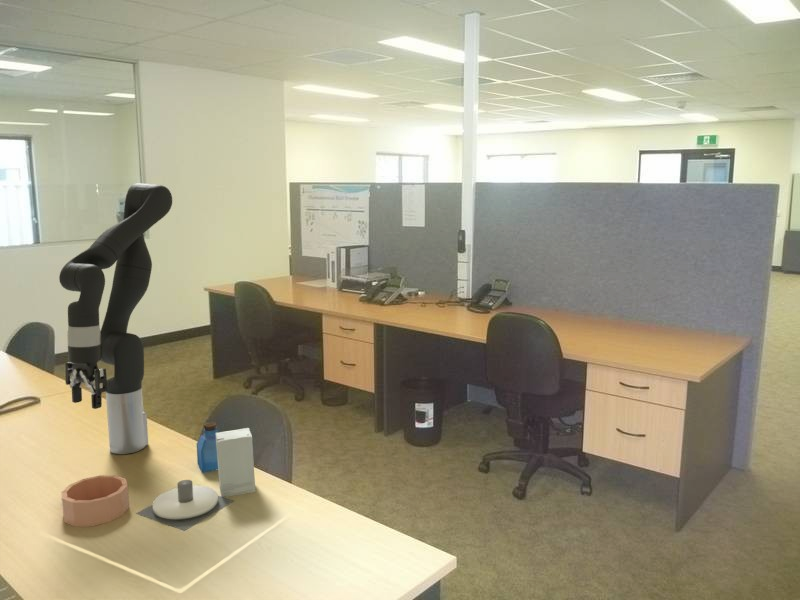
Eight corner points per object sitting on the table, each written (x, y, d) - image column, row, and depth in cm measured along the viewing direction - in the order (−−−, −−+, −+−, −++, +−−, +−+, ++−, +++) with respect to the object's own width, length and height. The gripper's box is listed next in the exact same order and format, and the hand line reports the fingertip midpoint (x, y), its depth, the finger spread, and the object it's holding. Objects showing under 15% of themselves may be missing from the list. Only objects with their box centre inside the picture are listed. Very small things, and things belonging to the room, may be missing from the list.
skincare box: (252, 483, 155) (250, 426, 152) (256, 494, 149) (254, 435, 147) (217, 489, 152) (215, 430, 149) (219, 500, 146) (216, 440, 144)
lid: (187, 487, 151) (186, 465, 150) (231, 501, 145) (230, 477, 144) (139, 512, 139) (137, 488, 138) (184, 528, 132) (183, 503, 132)
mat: (187, 488, 152) (187, 486, 152) (234, 503, 145) (234, 500, 145) (135, 515, 139) (135, 513, 139) (184, 533, 132) (184, 530, 132)
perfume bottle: (201, 475, 159) (199, 430, 158) (197, 465, 165) (195, 422, 163) (226, 470, 162) (224, 426, 160) (221, 461, 168) (219, 418, 166)
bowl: (103, 494, 149) (101, 471, 148) (141, 507, 142) (139, 483, 141) (51, 519, 137) (48, 493, 136) (89, 534, 131) (87, 507, 130)
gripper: (115, 344, 157) (117, 406, 159) (82, 337, 164) (84, 396, 166) (87, 348, 151) (89, 414, 153) (53, 341, 158) (56, 403, 160)
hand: (86, 405), depth 160 cm, fingers open, 8 cm apart
